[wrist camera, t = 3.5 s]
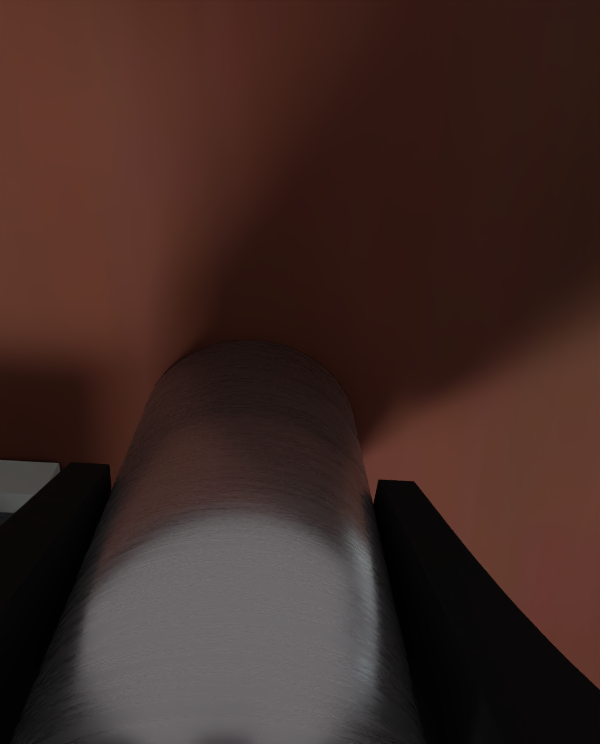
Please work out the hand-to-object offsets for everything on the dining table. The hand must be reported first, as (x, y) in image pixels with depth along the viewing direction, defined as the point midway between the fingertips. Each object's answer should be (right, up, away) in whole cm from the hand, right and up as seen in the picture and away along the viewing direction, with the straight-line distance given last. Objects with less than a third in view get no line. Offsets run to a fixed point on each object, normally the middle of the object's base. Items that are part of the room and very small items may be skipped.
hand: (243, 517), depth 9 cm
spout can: (0, +1, +2) cm, 2 cm away
